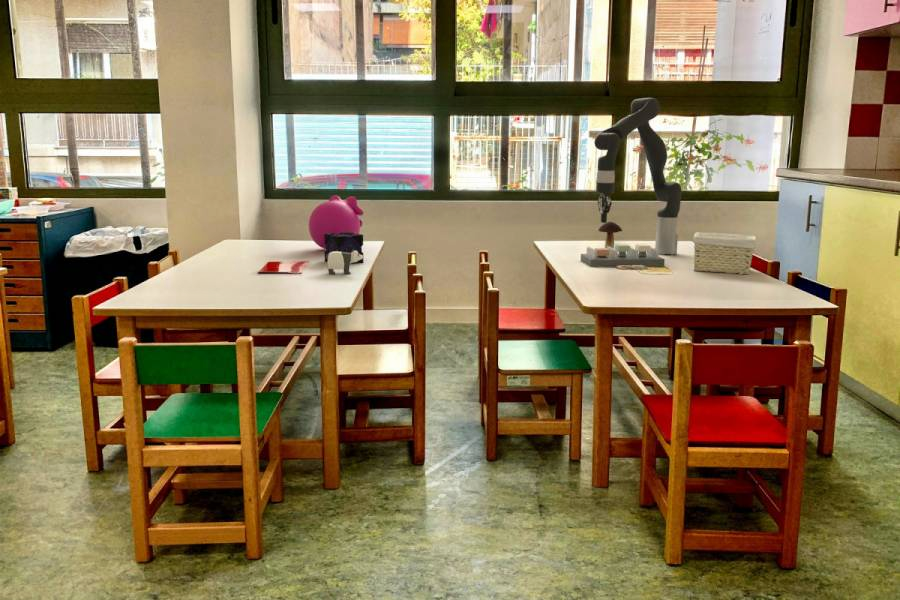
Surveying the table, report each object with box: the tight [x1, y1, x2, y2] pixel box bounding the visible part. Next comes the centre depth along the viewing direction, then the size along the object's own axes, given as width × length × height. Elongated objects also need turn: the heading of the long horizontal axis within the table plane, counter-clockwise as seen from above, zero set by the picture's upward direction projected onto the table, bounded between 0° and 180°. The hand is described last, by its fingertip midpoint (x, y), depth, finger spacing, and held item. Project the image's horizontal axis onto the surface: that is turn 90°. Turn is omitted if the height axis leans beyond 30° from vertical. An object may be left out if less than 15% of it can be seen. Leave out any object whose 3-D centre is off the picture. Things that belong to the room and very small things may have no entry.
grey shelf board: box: [580, 246, 666, 268], centre depth 334 cm, size 32×16×6 cm, turn 96°
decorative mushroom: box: [597, 221, 623, 249], centre depth 360 cm, size 11×11×15 cm
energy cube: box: [324, 232, 364, 264], centre depth 328 cm, size 12×12×12 cm
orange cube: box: [594, 247, 609, 257], centre depth 333 cm, size 5×5×5 cm
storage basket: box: [692, 231, 757, 275], centre depth 318 cm, size 24×16×15 cm
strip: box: [615, 265, 648, 270], centre depth 322 cm, size 12×4×1 cm, turn 96°
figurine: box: [308, 194, 364, 250], centre depth 360 cm, size 23×24×25 cm
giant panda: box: [326, 250, 364, 276], centre depth 301 cm, size 15×6×10 cm, turn 101°
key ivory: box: [634, 243, 652, 256], centre depth 334 cm, size 5×5×5 cm
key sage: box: [614, 243, 631, 256], centre depth 333 cm, size 5×5×5 cm
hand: (603, 222), depth 330 cm, fingers closed
